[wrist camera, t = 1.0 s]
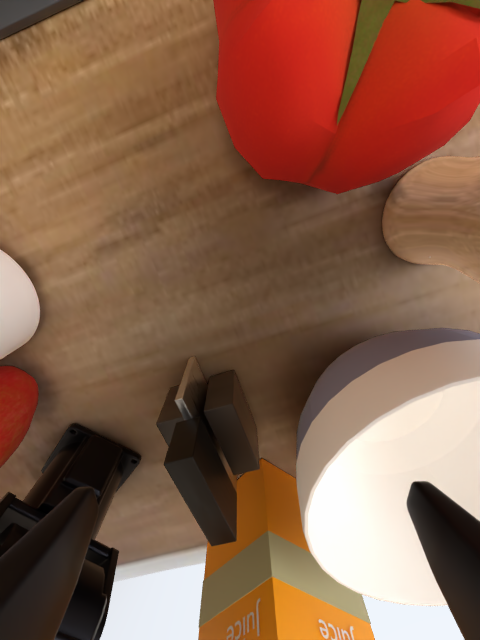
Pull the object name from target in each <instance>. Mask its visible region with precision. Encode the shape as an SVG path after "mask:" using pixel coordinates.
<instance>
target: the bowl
mask: <svg viewBox="0 0 480 640" xmlns="http://www.w3.org/2000/svg"><path fill="white" fill-rule="evenodd" d="M414 481H427V482H430V483H431V484H433V485H434V486H435V487H437V488H438V489H439V490H440V491H442V492H443V493H444V494H446V495H447V496H448V497H449V498H451V499H452V500H453V501H455V502H456V503H457V504H458V505H460V506H461V507H462V508H463V509H465V510H466V511H467V512H469V513H470V514H471V515H472V516H474V517H475V518H476V519H478V520H479V521H480V334H479V333H475V332H472V331H468V330H459V329H449V328H434V329H420V330H407V331H395V332H391V333H387V334H383V335H379V336H375V337H373V338H371V339H368V340H366V341H364V342H362V343H359V344H357V345H355V346H354V347H352V348H351V349H349V350H348V351H346V352H345V353H343V354H341V355H340V356H339V357H338V358H337V359H336V360H335V361H334V362H332V363H331V364H330V365H329V366H328V367H327V368H326V369H325V371H324V372H323V373H322V375H321V376H320V377H319V379H318V380H317V381H316V384H315V386H314V388H313V390H312V392H311V394H310V396H309V398H308V400H307V402H306V405H305V407H304V409H303V411H302V413H301V416H300V420H299V425H298V429H297V462H296V484H297V492H298V499H299V506H300V514H301V521H302V528H303V533H304V536H305V539H306V542H307V545H308V548H309V550H310V552H311V554H312V555H313V557H314V558H315V559H316V561H317V562H318V564H319V565H320V567H321V568H322V569H323V570H324V571H325V572H326V573H327V574H329V575H330V576H331V577H332V578H333V579H334V580H336V581H337V582H338V583H340V584H342V585H344V586H345V587H347V588H349V589H351V590H353V591H355V592H357V593H359V594H362V595H365V596H368V597H372V598H374V599H378V600H382V601H388V602H393V603H399V604H404V605H422V606H438V605H448V604H447V602H446V600H445V598H444V596H443V594H442V592H441V590H440V588H439V586H438V584H437V582H436V579H435V577H434V575H433V573H432V570H431V568H430V566H429V563H428V561H427V558H426V555H425V553H424V550H423V548H422V545H421V543H420V540H419V538H418V535H417V533H416V530H415V527H414V525H413V522H412V520H411V517H410V515H409V512H408V509H407V504H406V503H407V497H408V494H409V490H410V487H411V484H412V483H413V482H414Z"/></svg>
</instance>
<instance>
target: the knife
mask: <svg viewBox="0 0 480 640" xmlns="http://www.w3.org/2000/svg"><path fill="white" fill-rule="evenodd" d="M207 390H208V385H207V383H206V381H205V378H204V376H203V374H202V372H201V369H200V367H199V365H198V362H197V360H196V358H195V357H191V358H189V359H188V362H187V365H186V368H185V371H184V374H183V377H182V380H181V383H180V386H179V389H178V392H177V395H176V398H175V402H176V404H177V406H178V408H179V410H180V412H181V414H182V416H183V418H184V421H181V422H177V423H176V424H175V428H174V431H173V434H172V438H171V441H170V445H169V448H168V451H167V455H166V458H165V462H164V466H165V468H166V469H167V471H168V473H169V474H170V476H171V478H172V480H173V481H174V483H175V485H176V486H177V488H178V490H179V492H180V493H181V495H182V497H183V498H184V500H185V502H186V504H187V505H188V507H189V509H190V511H191V512H192V514H193V516H194V517H195V519H196V521H197V523H198V524H199V526H200V528H201V529H202V531H203V533H204V535H205V536H206V538H207V540H208V541H209V543H210V545H211V546H217V545H222V544H226V543H231V542H236V541H237V475H233V473H232V471H231V469H230V467H229V465H228V463H227V460H226V458H225V456H224V454H223V452H222V450H221V448H220V445H219V443H218V441H217V439H216V437H215V435H214V433H213V430H212V428H211V426H210V424H209V422H208V420H207V418H206V415H205V413H204V407H205V401H206V395H207Z"/></svg>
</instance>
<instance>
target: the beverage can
mask: <svg viewBox="0 0 480 640" xmlns="http://www.w3.org/2000/svg"><path fill="white" fill-rule="evenodd" d="M39 319H40V305H39V300H38V296H37V293H36V290H35V288H34V286H33V284H32V282H31V280H30V279H29V277H28V276H27V274H26V273H25V272H24V270H23V269H22V268H21V267H20V266H19V265H18V264H17V263H16V262H15V261H14V260H13V259H12V258H11V257H10V256H9V255H7V254H6V253H5V252H3V251H2V250H1V249H0V360H1V359H2V358H4V357H5V356H7V355H9V354H10V353H12V352H13V351H15V350H16V349H18V348H19V347H21V346H22V345H24V344H25V343H27V342H28V341H29V340H30V339H31V337H32V336H33V335H34V333H35V331H36V329H37V327H38V324H39Z"/></svg>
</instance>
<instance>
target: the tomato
mask: <svg viewBox="0 0 480 640" xmlns="http://www.w3.org/2000/svg"><path fill="white" fill-rule="evenodd" d="M213 1H214V8H215V15H216V22H217V29H218V36H219V60H218V82H217V94H216V100H217V103H218V105H219V108H220V110H221V113H222V116H223V118H224V121H225V124H226V126H227V129H228V131H229V134H230V137H231V139H232V142H233V145H234V147H235V149H236V150H237V151H238V152H239V153H240V154H241V155H242V156H243V157H244V158H245V160H246V161H247V162H248V163H249V164H250V165H251V166H252V167H253V168H254V169H255V171H256V172H257V173H258V174H259V175H260V176H261V177H262V178H263V179H273V180H283V181H290V182H296V183H302V184H305V185H308V186H311V187H315V188H318V189H321V190H325V191H328V192H332V193H336V194H339V193H343V192H346V191H349V190H352V189H356V188H359V187H362V186H366V185H369V184H372V183H375V182H379V181H381V180H383V179H386V178H388V177H390V176H392V175H395V174H397V173H399V172H401V171H402V170H404V169H406V168H407V167H409V166H411V165H412V164H414V163H416V162H417V161H419V160H421V159H422V158H424V157H425V156H427V155H429V154H430V153H432V152H434V151H435V150H437V149H439V148H440V147H442V146H444V145H445V144H446V143H447V142H448V141H449V140H450V139H451V138H452V137H453V136H454V135H455V134H456V133H457V132H458V131H459V130H460V129H461V128H463V127H464V126H465V125H466V124H467V123H468V122H469V121H470V119H471V117H472V116H473V114H474V112H475V110H476V108H477V107H478V105H479V103H480V0H213Z"/></svg>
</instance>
